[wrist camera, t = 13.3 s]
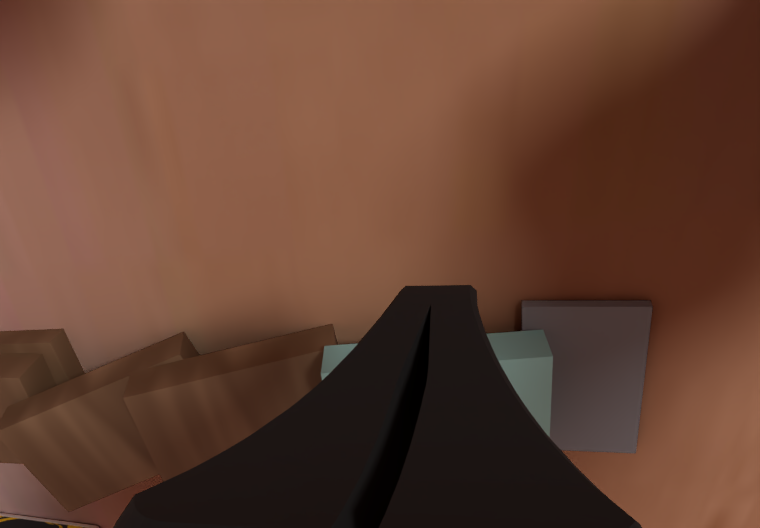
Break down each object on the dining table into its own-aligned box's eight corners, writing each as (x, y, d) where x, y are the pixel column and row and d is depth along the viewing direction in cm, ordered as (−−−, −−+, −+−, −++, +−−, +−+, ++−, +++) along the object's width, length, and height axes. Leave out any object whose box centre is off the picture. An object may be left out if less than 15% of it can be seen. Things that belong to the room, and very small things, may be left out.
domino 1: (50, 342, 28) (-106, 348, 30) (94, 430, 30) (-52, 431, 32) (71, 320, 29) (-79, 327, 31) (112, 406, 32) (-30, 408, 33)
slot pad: (650, 300, 23) (652, 306, 23) (634, 445, 27) (635, 453, 26) (521, 300, 24) (522, 306, 24) (522, 441, 28) (522, 448, 27)
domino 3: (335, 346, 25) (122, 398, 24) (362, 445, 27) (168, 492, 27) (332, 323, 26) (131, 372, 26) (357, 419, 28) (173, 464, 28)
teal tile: (553, 356, 23) (320, 373, 23) (548, 461, 25) (338, 475, 26) (543, 329, 24) (324, 345, 24) (540, 432, 26) (341, 445, 27)
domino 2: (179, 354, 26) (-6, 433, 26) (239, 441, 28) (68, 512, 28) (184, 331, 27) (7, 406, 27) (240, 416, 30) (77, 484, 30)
